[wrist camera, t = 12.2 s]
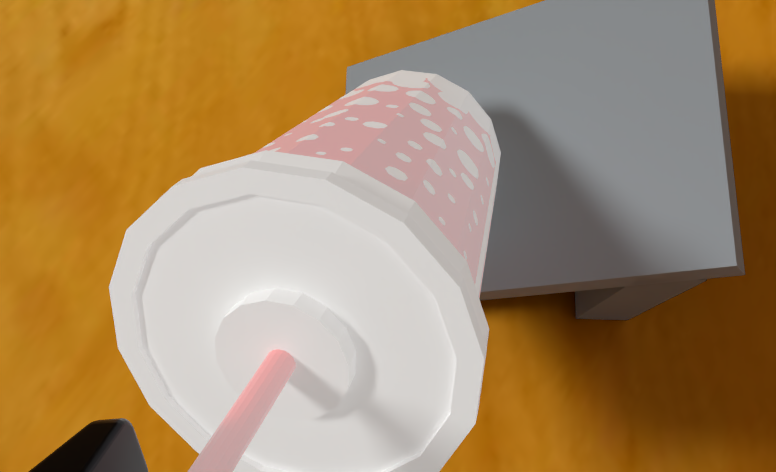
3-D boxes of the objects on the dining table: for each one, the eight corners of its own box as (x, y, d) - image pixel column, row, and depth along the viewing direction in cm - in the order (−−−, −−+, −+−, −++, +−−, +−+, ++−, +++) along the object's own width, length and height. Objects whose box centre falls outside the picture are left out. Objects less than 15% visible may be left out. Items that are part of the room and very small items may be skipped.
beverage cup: (283, 50, 18) (-313, 383, 6) (523, 26, 17) (339, 421, 5) (324, 261, 21) (-44, 788, 9) (537, 259, 19) (443, 911, 7)
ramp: (337, 311, 22) (315, 253, 15) (348, 79, 24) (334, -63, 18) (646, 320, 22) (763, 266, 15) (629, 87, 24) (725, -52, 18)
